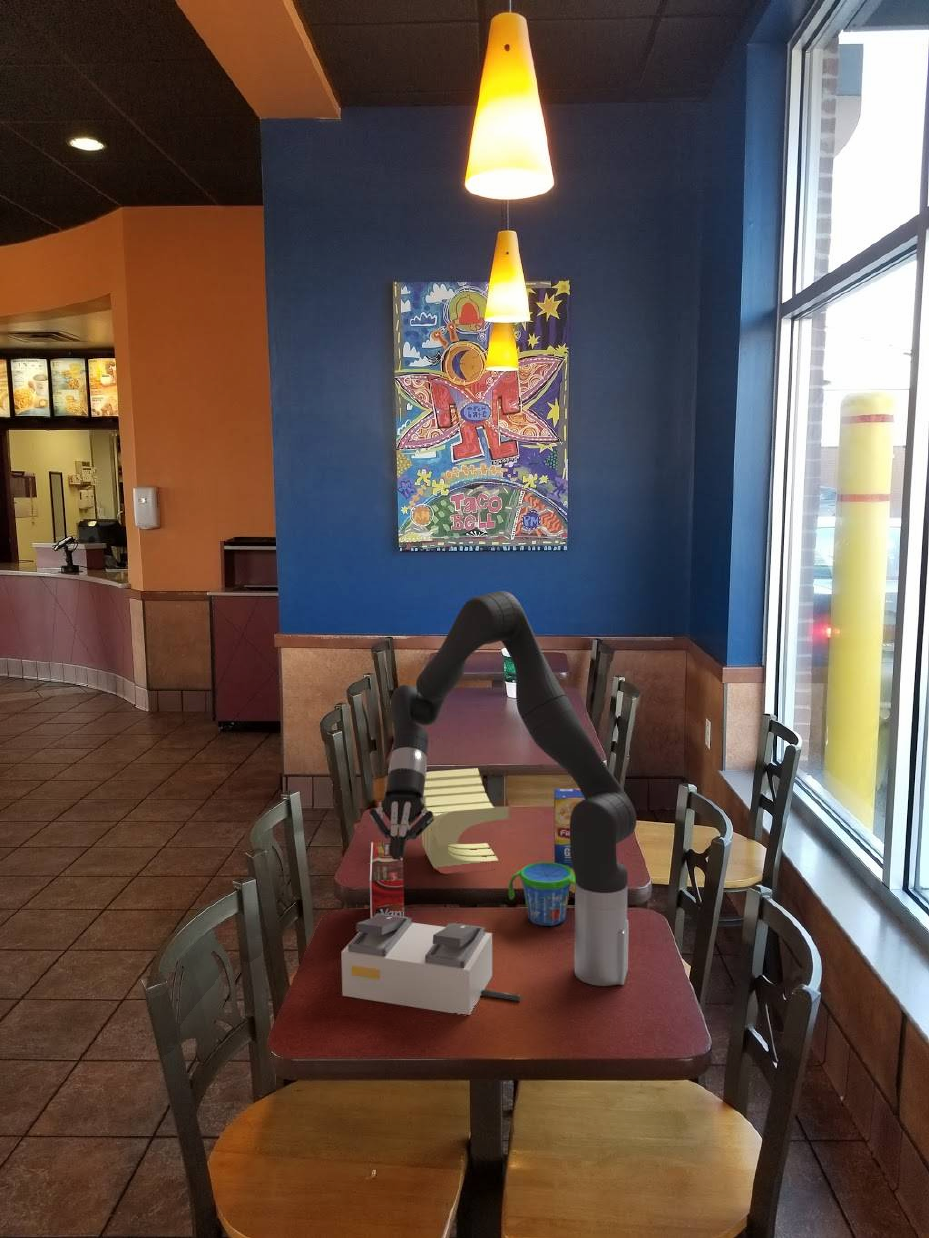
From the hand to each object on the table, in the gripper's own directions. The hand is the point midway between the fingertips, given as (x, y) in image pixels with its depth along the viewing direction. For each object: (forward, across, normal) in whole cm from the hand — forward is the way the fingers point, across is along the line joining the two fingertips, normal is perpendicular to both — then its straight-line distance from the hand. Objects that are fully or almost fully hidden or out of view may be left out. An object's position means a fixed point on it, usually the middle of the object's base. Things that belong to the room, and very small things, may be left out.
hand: (396, 857), depth 180 cm
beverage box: (-8, +35, +34) cm, 49 cm away
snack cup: (+2, +28, +24) cm, 37 cm away
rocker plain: (+16, +13, -5) cm, 21 cm away
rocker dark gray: (+14, -1, -3) cm, 14 cm away
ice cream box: (+6, -4, +20) cm, 21 cm away
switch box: (+23, +10, +3) cm, 25 cm away
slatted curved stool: (-18, +7, +44) cm, 48 cm away
